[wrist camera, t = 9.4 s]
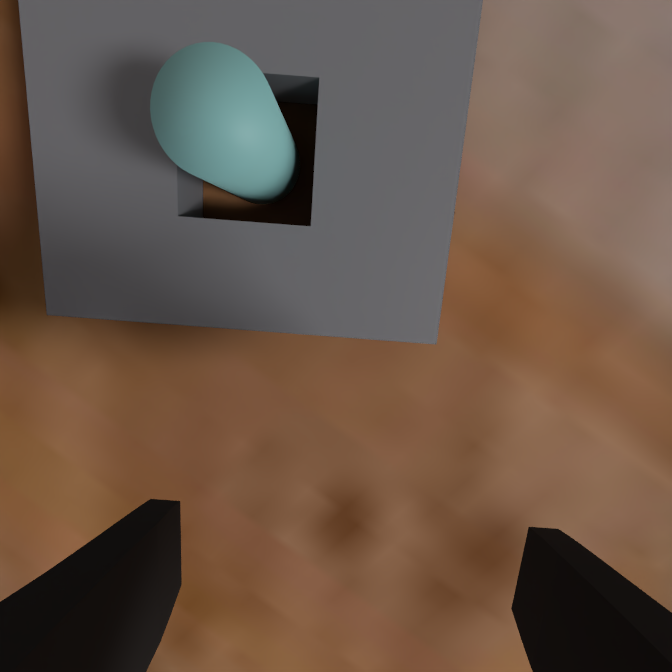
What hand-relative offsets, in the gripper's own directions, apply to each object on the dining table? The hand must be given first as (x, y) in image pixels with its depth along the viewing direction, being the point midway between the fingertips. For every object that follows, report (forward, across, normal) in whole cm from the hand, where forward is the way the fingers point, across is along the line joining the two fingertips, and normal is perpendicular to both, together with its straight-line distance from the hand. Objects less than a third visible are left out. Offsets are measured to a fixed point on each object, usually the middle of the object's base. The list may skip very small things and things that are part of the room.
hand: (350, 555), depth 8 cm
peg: (+9, +4, -9) cm, 14 cm away
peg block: (+9, +4, -9) cm, 14 cm away
